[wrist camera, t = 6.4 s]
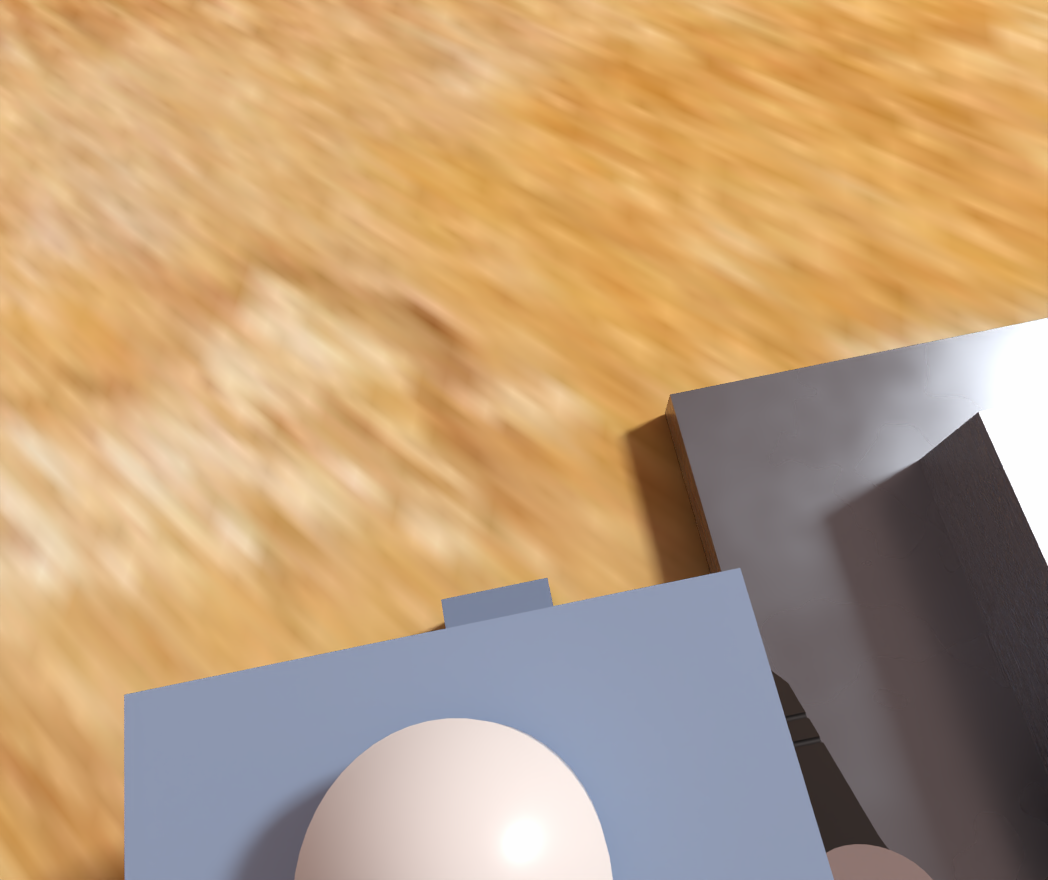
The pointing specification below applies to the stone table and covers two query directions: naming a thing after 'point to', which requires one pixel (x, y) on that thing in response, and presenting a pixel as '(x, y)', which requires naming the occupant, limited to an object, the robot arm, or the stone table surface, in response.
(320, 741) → the block
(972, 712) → the plate
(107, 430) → the stone table surface
